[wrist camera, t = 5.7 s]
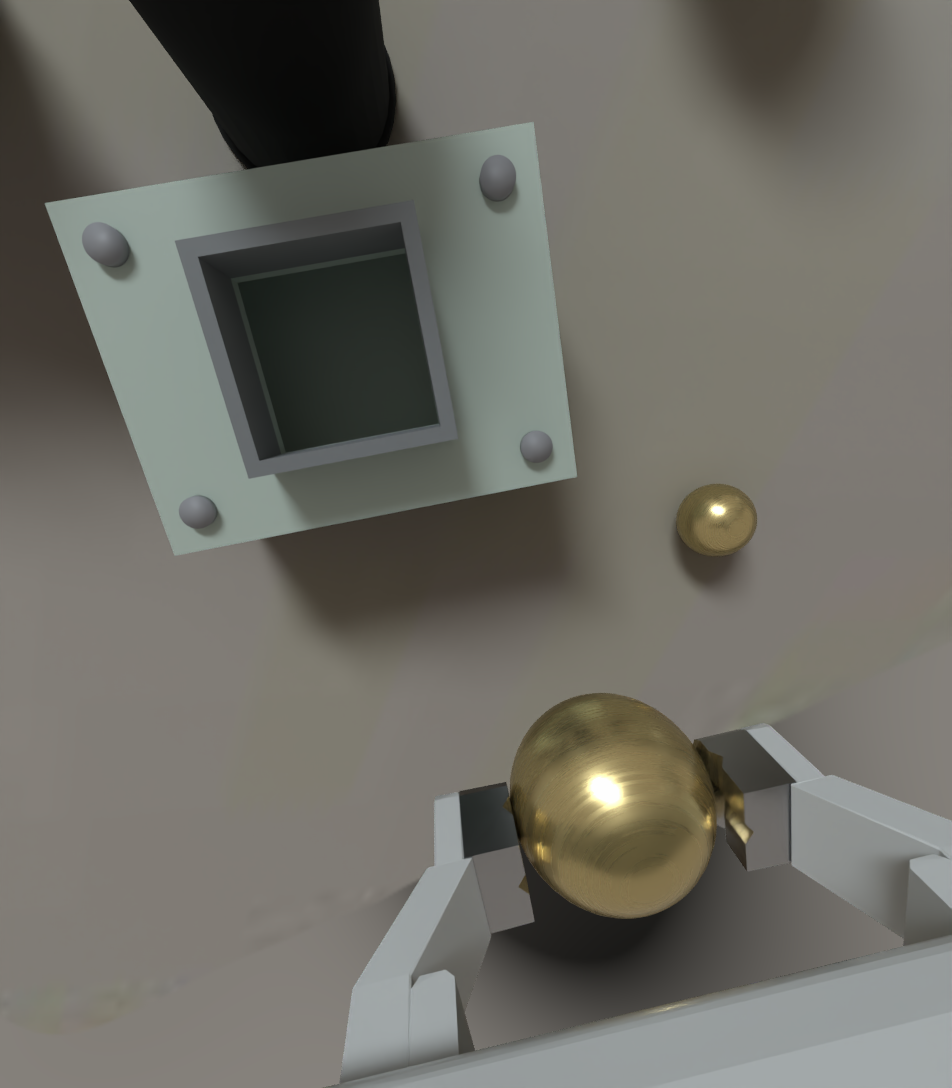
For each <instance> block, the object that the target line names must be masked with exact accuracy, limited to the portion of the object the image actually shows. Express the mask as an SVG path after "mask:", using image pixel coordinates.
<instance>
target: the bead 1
mask: <svg viewBox="0 0 952 1088" xmlns="http://www.w3.org/2000/svg"><path fill="white" fill-rule="evenodd" d="M510 802H511V807H512V812H513V816H514V821H515V827H516V832H517V836H518V839H519V841H520V843H521V845H522V847H523V849H524V852H525V854H526V855H527V858H528V859H529V861H530V862H531V863H532V865H533V866H534V868H535V869H536V871H537V872H538V874H539V875H540V876H541V877H542V878H543V879H544V880H545V881H546V882H547V883H548V884H549V885H550V886H551V887H552V888H553V889H554V890H555V891H556V892H557V893H559V894H560V895H561V896H563V897H564V898H565V899H567V900H568V901H570V902H571V903H573V904H575V905H577V906H578V907H580V908H583V909H585V910H587V911H590V912H592V913H595V914H598V915H602V916H606V917H613V918H620V919H631V918H639V917H645V916H649V915H652V914H655V913H658V912H661V911H663V910H665V909H667V908H669V907H671V906H672V905H674V904H676V903H677V902H679V901H680V900H681V899H682V898H684V897H685V896H686V895H687V894H688V893H689V892H690V891H691V890H692V889H693V887H694V886H695V885H696V884H697V882H698V881H699V879H700V877H701V876H702V874H703V873H704V871H705V869H706V867H707V865H708V863H709V860H710V857H711V854H712V851H713V848H714V844H715V838H716V830H717V809H716V801H715V794H714V790H713V787H712V783H711V780H710V777H709V774H708V771H707V769H706V767H705V765H704V763H703V761H702V759H701V757H700V755H699V753H698V752H697V750H696V749H695V747H694V746H693V744H692V743H691V741H690V740H689V739H688V737H687V736H686V735H685V734H684V733H683V732H682V731H681V730H680V728H679V727H678V726H676V725H675V724H674V723H673V722H672V721H671V720H670V719H669V718H667V717H666V716H665V715H663V714H662V713H661V712H659V711H658V710H656V709H655V708H653V707H651V706H649V705H647V704H645V703H643V702H641V701H639V700H636V699H633V698H630V697H626V696H622V695H617V694H610V693H592V694H585V695H580V696H576V697H572V698H570V699H567V700H565V701H562V702H561V703H559V704H557V705H555V706H553V707H552V708H551V709H549V710H548V711H546V712H545V713H544V714H543V715H542V716H541V717H540V718H539V719H537V721H536V722H535V723H534V724H533V725H532V726H531V727H530V729H529V730H528V732H527V733H526V735H525V736H524V738H523V740H522V742H521V744H520V746H519V748H518V750H517V753H516V756H515V759H514V762H513V766H512V772H511V777H510Z"/></svg>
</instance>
